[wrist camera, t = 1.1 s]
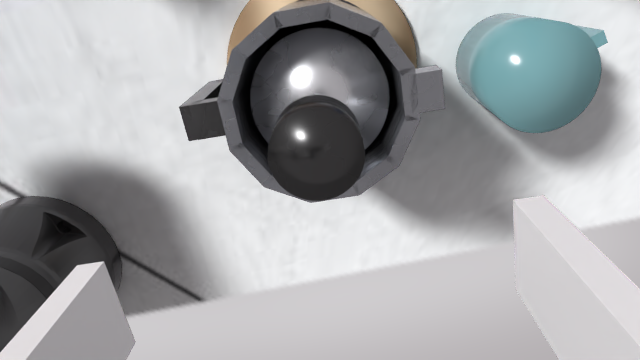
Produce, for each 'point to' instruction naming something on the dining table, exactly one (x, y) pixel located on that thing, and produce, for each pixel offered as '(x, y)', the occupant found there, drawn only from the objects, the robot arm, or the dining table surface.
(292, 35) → the plunger
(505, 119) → the mug
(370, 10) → the trivet
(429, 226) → the dining table surface
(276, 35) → the carafe
